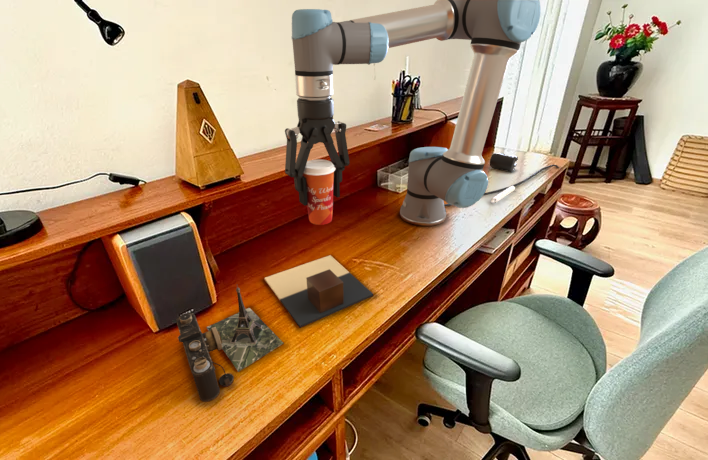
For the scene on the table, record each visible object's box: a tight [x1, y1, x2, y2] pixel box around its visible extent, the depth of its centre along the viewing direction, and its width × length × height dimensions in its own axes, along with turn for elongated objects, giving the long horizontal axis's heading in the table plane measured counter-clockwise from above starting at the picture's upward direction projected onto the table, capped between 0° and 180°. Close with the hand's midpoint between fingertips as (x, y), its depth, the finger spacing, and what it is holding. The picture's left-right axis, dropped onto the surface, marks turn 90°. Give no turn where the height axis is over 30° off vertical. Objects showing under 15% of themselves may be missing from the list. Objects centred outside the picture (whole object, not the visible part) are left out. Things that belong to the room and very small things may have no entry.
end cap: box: [489, 152, 519, 173], centre depth 161 cm, size 10×7×7 cm
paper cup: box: [303, 158, 336, 226], centre depth 84 cm, size 8×8×14 cm
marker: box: [490, 185, 516, 204], centre depth 135 cm, size 18×2×2 cm, turn 136°
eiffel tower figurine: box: [206, 285, 285, 373], centre depth 70 cm, size 15×10×13 cm
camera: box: [176, 312, 235, 403], centre depth 66 cm, size 16×7×8 cm, turn 33°
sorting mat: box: [263, 254, 374, 329], centre depth 88 cm, size 19×20×1 cm
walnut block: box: [306, 269, 344, 313], centre depth 81 cm, size 6×6×6 cm
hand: (319, 199), depth 85 cm, fingers closed on paper cup, 8 cm apart
